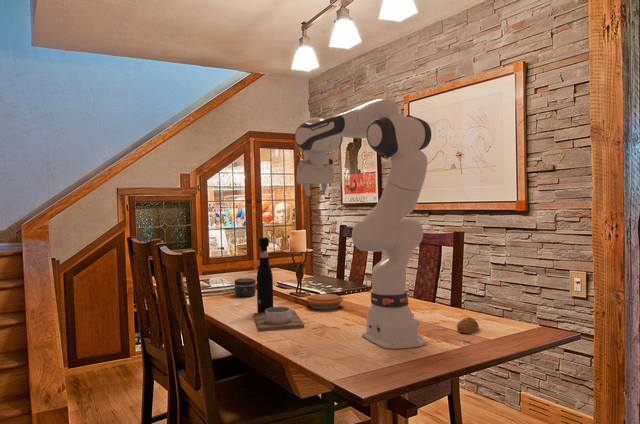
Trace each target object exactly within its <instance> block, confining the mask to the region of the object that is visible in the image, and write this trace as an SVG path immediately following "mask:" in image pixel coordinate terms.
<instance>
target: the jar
mask: <svg viewBox="0 0 640 424" xmlns="http://www.w3.org/2000/svg"><path fill="white" fill-rule="evenodd" d="M256 293H257V280H256V279H255V278H251V277H249V278H248V277H246V278H245V277H244V278H238V279H234V294H235V296H236V297H237V298H252V297H254V296H255V295H256Z"/></svg>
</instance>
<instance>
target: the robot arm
mask: <svg viewBox="0 0 640 424" xmlns="http://www.w3.org/2000/svg"><path fill="white" fill-rule="evenodd" d="M343 138H352V139H366V141H367V143H368V145H369V147H370V148H371V150H373V151H374V152H376V153H377V154H379V155H380V156H381V158H382V159H385V160H386V159H389V158H390V161H391V167H390V170H389V172H388V175H387V176H388V177H387V179H386V182H385V185H384V187H383V191H382V194H381V196H380V198H379V200H378V202H377V203H376V205H374V207H373V209H371V211H370V212H369V213H368V214H366V216H364V217H363V218H362V219H360V220H358V221H357V222H356V223H355V224H354V225H353V228H352V231H351V239H352V243H353V245H354V246H355V248H356V249H358V250H359V251H364V252H370V253H371V252H372V253H374V252H376V253H377V252H383V257H382V258H381V260H380V261H379V262H377V263H376V264H375V265H374V266H372V267H373V268H372V270H371V292H370V302H371V305H370V306H369V308H368V309H367V311H366V324H365V325H366V327H365V328H366V329H365V331H363V332H362V337H363V338H365V339H367V340H369V341H370V342H373V343H374V344H376V345H377V346H379V347H381V348H383V349H391V350H392V349H395V350H396V349H398V350H399V349H410V348H417V347H423V346H425V345H426V340H425V339H424V338H423V336H422V335H421V334H420V333H419V331H418V327H420V324H421V323H420V320H419V319H418V318H417V319H415V313H413V312H412V310H411V309H410V306H409V296H408V293H407V290H406V289H407V287H406V286H407V285H406V284H407V283H406V280H407V269H408V268H407V267H408V264H409V261H410V258H411V255H413V252H414V251H415V249H416V248H417V247H418V246H419V245H420V244H422V240H423V239H424V238H423V237H424V228H423V225H422V224H421V223H420V221H419V219H416V218H412V217H407V216H408V215H409V214H411V213H412V212H413V211H414V209H416V206H417V204H418V200H419V197H420V195H421V192H422V188H423V185H424V183H425V178H426V175H427V169H428V156H427V155H426V153H424V152H423V151H422V150H424V149H426V148H427V147H428V146H429V144H430V143H431V140H432V129H431V126H430V124H429V123H428V122H426V121H425V120H424V119H422V118H419V117H416V116H413V115H410V114H407V115H405V116H403V115H401V114H400V112H399V109H398V106H397V104H396V103H395V102H394V101H393V100H392V99H389V98H380V99H375V100H371V101H369V102H367V103H364V104H362V105H359V106H358V107H355V108H353V109H351V110H347V111H345V112H342V113H340V114H338V115H335V116H332V117H328V118H325V119H324V118H322V117H314V118H310V119H308V120H307V121H306V122H302V123H301V124H300V125H299V126H298V127H297V129H296V130H295V133H294V139H295V140H294V141H295V143H296V145H297V147H298V148H299V149H301V150H302V151H304V153H303V154H304V155H303V159H300V161H299V162H298V166H297V170H296V182H297V184H298V185H300V184H301V185H302V184H303V188H304V191H305V192H304V193H305V196H309V197H311V196H312V190H311V189H310V187H311V185H313V184H315V185H317V184H319V185H320V186H321V190H319V195H320V196H326V192H327V188H328V184H329V185H330V184H333V183H334V180H335V171H334V164H335V160H334V159H332V158H331V157H330V156H328V155H327V154H328V153H327V151H329V152H330V151H331V152H332V151H336V150H338V149H340V147H341V146H342V143H343Z"/></svg>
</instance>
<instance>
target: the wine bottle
mask: <svg viewBox="0 0 640 424" xmlns="http://www.w3.org/2000/svg"><path fill="white" fill-rule="evenodd" d="M269 239H270V238H269V237H260V238H258V247H260V253H259V266H258V268H257V272H256V297H257V298H256V300H257V301H256V307H257V311H256V313H262V312H265V310H266V309H267V308H271V307H274V281H273V278H274V277H273V276H274V275H273V272H272V268H271V266H270V257H269V252H268V247H270V244H269Z"/></svg>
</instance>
